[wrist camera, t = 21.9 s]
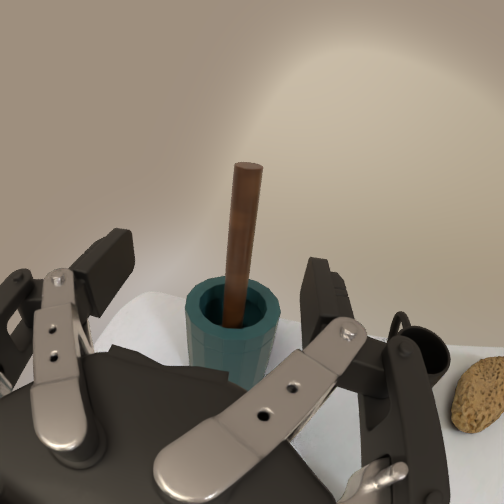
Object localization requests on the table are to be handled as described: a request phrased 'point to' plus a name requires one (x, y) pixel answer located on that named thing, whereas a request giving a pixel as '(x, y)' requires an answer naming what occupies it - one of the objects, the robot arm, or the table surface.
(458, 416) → the sponge
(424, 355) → the mug
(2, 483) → the robot arm
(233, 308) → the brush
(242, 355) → the jar
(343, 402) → the table surface
